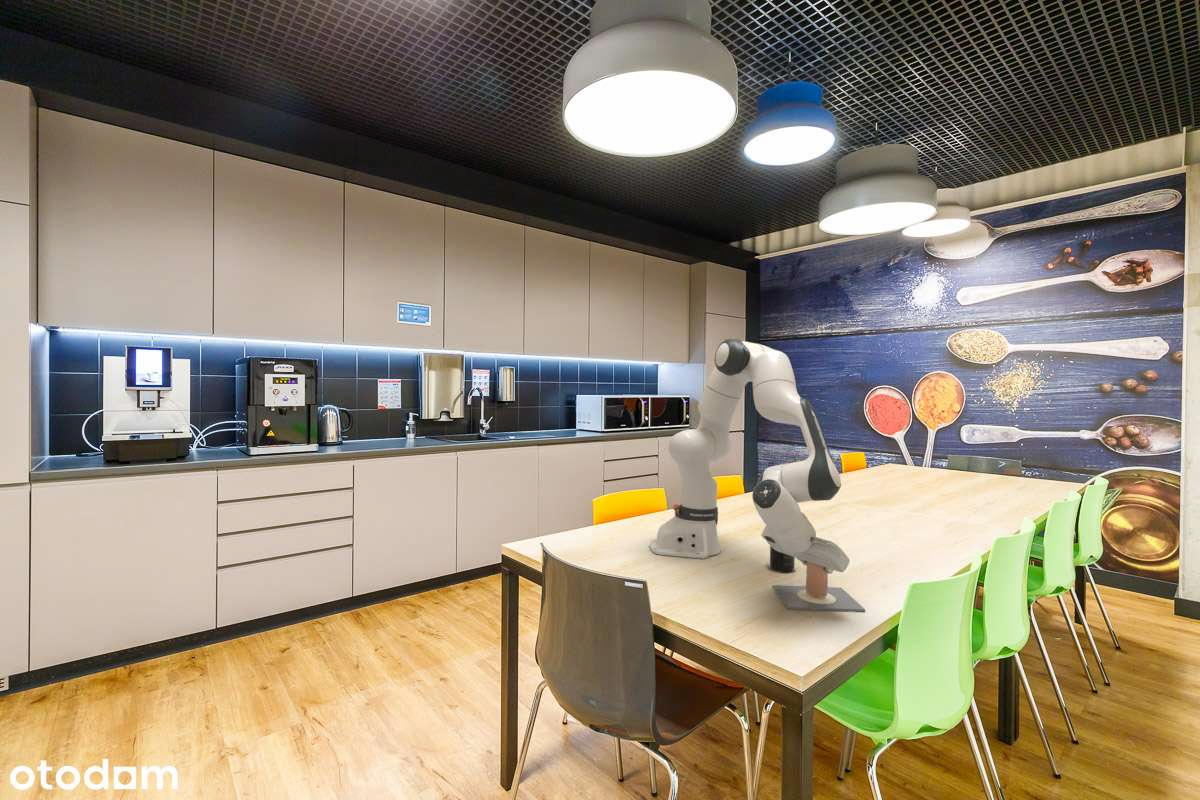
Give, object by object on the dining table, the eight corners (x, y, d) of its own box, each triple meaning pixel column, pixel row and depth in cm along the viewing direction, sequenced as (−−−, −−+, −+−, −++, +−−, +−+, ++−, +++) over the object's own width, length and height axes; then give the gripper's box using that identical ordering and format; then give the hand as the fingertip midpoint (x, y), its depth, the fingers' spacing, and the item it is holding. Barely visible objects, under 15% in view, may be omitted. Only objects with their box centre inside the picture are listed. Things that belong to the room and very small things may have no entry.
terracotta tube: (806, 595, 135) (808, 547, 135) (805, 588, 140) (806, 541, 140) (828, 597, 134) (830, 549, 133) (826, 590, 139) (827, 543, 138)
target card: (788, 609, 130) (788, 606, 130) (772, 587, 144) (772, 584, 144) (865, 612, 130) (865, 609, 130) (841, 589, 144) (841, 587, 144)
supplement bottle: (794, 566, 161) (795, 526, 161) (794, 574, 155) (795, 532, 154) (769, 563, 163) (771, 524, 163) (768, 571, 157) (770, 529, 157)
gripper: (840, 533, 124) (863, 569, 130) (768, 514, 141) (791, 546, 147) (828, 556, 122) (851, 591, 127) (755, 533, 139) (779, 565, 144)
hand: (818, 567), depth 137 cm, fingers closed on terracotta tube, 5 cm apart
